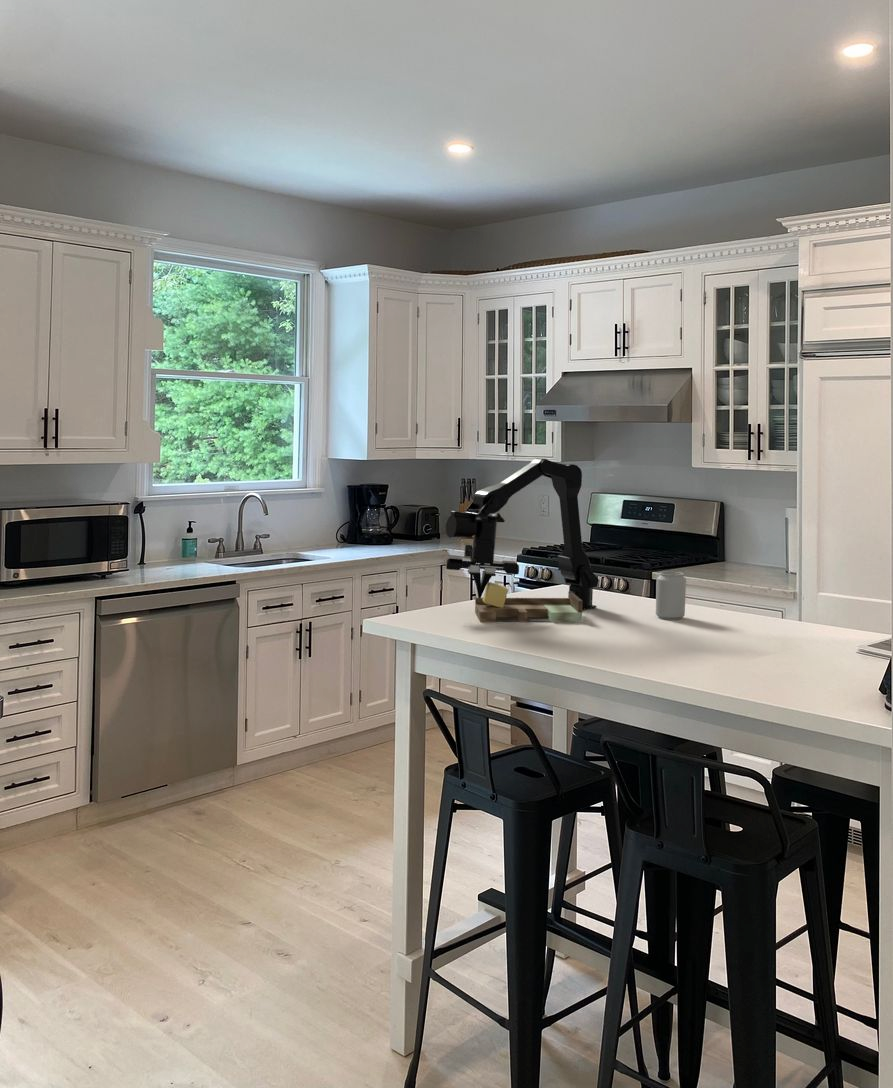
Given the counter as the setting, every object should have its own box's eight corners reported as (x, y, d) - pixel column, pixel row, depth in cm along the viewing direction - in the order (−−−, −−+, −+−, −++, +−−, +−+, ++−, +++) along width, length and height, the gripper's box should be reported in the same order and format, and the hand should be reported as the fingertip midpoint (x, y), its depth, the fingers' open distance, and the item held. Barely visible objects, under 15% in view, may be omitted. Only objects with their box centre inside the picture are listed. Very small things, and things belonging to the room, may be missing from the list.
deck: (571, 612, 261) (572, 592, 261) (581, 622, 249) (582, 600, 248) (475, 612, 260) (475, 592, 259) (480, 621, 247) (480, 600, 246)
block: (500, 604, 258) (505, 586, 257) (502, 608, 253) (508, 589, 252) (482, 599, 257) (487, 581, 257) (484, 603, 252) (489, 584, 252)
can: (682, 615, 260) (684, 570, 259) (686, 620, 253) (688, 574, 251) (653, 614, 261) (655, 570, 260) (657, 619, 254) (658, 574, 252)
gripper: (516, 538, 262) (510, 596, 263) (446, 533, 260) (441, 591, 262) (521, 542, 251) (516, 602, 252) (449, 537, 249) (444, 597, 251)
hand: (479, 598), depth 255 cm, fingers closed
